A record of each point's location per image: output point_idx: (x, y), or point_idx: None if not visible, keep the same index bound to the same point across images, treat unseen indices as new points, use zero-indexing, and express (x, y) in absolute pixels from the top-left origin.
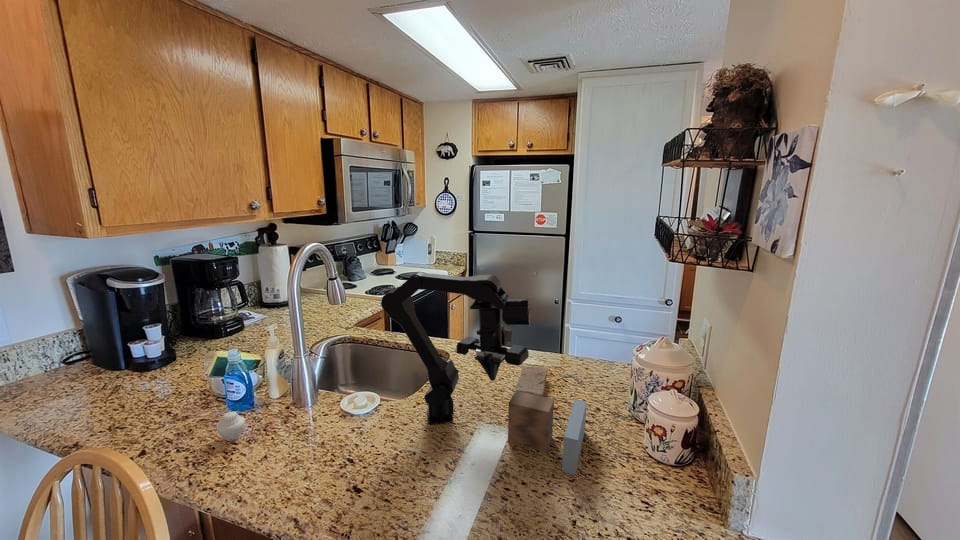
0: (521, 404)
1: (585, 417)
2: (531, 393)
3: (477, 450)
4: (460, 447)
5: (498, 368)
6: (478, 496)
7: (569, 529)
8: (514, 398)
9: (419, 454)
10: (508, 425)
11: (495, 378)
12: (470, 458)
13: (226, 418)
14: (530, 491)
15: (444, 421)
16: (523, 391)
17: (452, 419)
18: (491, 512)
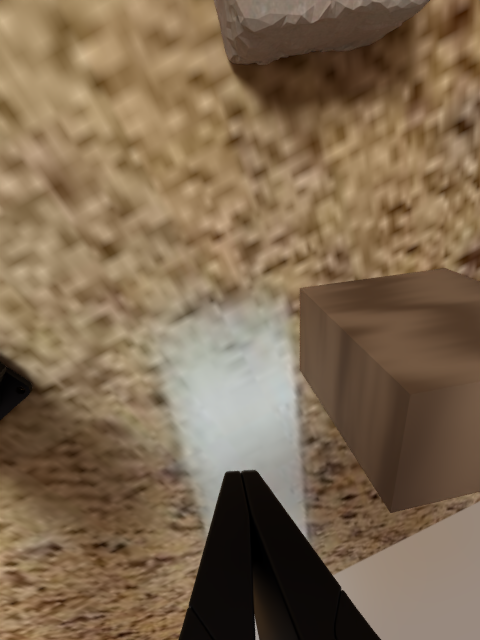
0: (461, 488)
1: None
2: (364, 12)
3: (223, 448)
4: (166, 466)
5: (339, 594)
6: None
7: (476, 500)
8: (415, 466)
9: (73, 542)
10: (328, 412)
11: (261, 479)
12: (221, 480)
13: None
14: None
15: (8, 411)
16: (308, 22)
17: (30, 388)
18: (334, 548)
